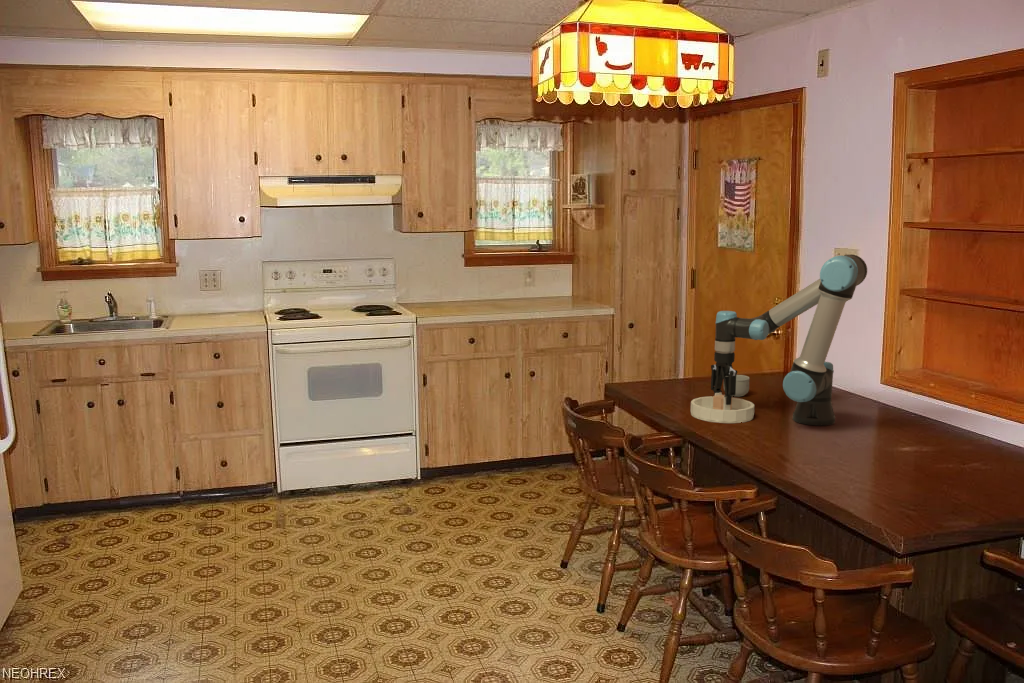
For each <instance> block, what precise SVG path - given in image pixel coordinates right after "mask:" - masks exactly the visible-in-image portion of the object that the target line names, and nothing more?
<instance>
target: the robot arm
mask: <svg viewBox="0 0 1024 683" xmlns="http://www.w3.org/2000/svg"><path fill="white" fill-rule="evenodd" d="M867 275H868V266H867V264H866V261H865V260H864V259H863V258H862V257H860V256H858V255H857V254H843V255H836V256H833V257H831V258H829V259H828V260H827V261H825V262H824V263H823V264H822V266H821V268H820V271H819V279H817V280H815V281H813V282H812V283H811V284H808V285H807V286H805V287H804V288H803V289H800V290H799V291H798V292H796V293H794V294H793V295H791V296H790V297H788V298H786V299H785V300H783V301H781V302H780V303H778V304H777V305H775V306H773V307H772V308H770V309H769V310H767V311H766V312H764V313H762V314H760V315H759V316H758V315H757V316H756V317H755V316H754V317H752V318H747V317H746V318H745V317H743V318H742V317H739V316H737V312H736V311H734V310H733V311H732V310H720V311H717V313H716V318H715V322H714V323H715V338H714V356H713V357H714V359H713V361H714V362H715V364H711V365H710V368H711V369H710V370H711V374H710V377H711V378H710V390H711V391H713V393H714V395H713V396H716V395H724V404H723V410H730V405H731V397H733V396H735V394H736V375H738V370H737V369H736V370H735V369H734V368H733V363H735V357H736V356H735V355H736V354H735V350H736V338H738V339H739V338H740V339H747V340H754V341H758V340H759V341H764V340H766V338H767V337H768V335H771V334H772V333H774V332H775V331H776V330H778V329H779V328H780V327H781V326H784V325H785V324H787V323H788V322H790V321H793V319H795V318H796V317H798V316H800V315H802V314H804V313H806V312H807V311H809V310H810V309H813V308H814V307H815V306H816V309H815V311H814V314H813V317H812V320H811V323H810V325H809V329H808V332H807V335H806V337H805V340H804V344H803V346H802V349H801V352H800V355H799V357H796V358H794V360H793V363H792V366H791V368H790V371H789V372H788V373H786V375H785V376H784V378H783V381H782V389H783V391H784V393H785V395H786V396H787V397H788V398H789V399H790V400H792V401H794V402H797V403H796V405H795V408H794V410H793V413H792V421H794V422H796V423H799V424H802V425H808V426H817V427H818V426H831V425H834V424H836V423H835V422H836V415H835V413H834V412H835V411H834V408H833V404H832V394H833V382H834V380H833V379H834V365H833V363H832V362H829V361H826V359H827V357H828V353H829V351H830V348H831V345H832V342H833V340H834V337H835V334H836V330H837V329H838V325H839V322H840V320H841V316H842V313H843V311H844V308H845V305H846V303H847V302H849V301H850V300H851V299H853V296H854V294H855V291H856V288H857V286H859V285H861V284H862V283H863V282H864V281H865V279H866V278H867ZM725 376H727V377H725ZM722 385H723V388H724V387H725V391H724V394H722V392H723V391H722Z"/></svg>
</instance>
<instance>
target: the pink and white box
mask: <svg viewBox="0 0 1024 683" xmlns="http://www.w3.org/2000/svg"><path fill="white" fill-rule="evenodd" d="M724 395H725V394H722V395H716V396H714V395H713V409H719V410H723V404H724ZM732 397H733V396H732ZM732 397H731V405H730V410H732Z"/></svg>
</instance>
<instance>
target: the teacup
mask: <svg viewBox="0 0 1024 683" xmlns="http://www.w3.org/2000/svg"><path fill="white" fill-rule="evenodd" d="M725 377H727V376H725ZM750 379H751V378H750V376H748V375H745V374H737V375H736V394H735V396H734V397H733V398H741V397H744V396H745V395H747V394H748V393H749V390H750ZM723 391H724V392H725V387H724V386H723Z"/></svg>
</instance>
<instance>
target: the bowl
mask: <svg viewBox="0 0 1024 683" xmlns="http://www.w3.org/2000/svg"><path fill="white" fill-rule="evenodd" d="M713 396H714V395H713ZM713 396H701V397H696V398H693V399H692V400H691V401H690V415H691V416H692V417H693V418H695V419H698V420H701V421H703V422H709V423H718V424H740V423H741V422H742V423H747V422H750V421H752V420H753V419H754V415H755V404H754V403H753V402H752V401H750V400H746V399H743V398H740V397H733V396H732V410H719V409H713Z"/></svg>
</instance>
